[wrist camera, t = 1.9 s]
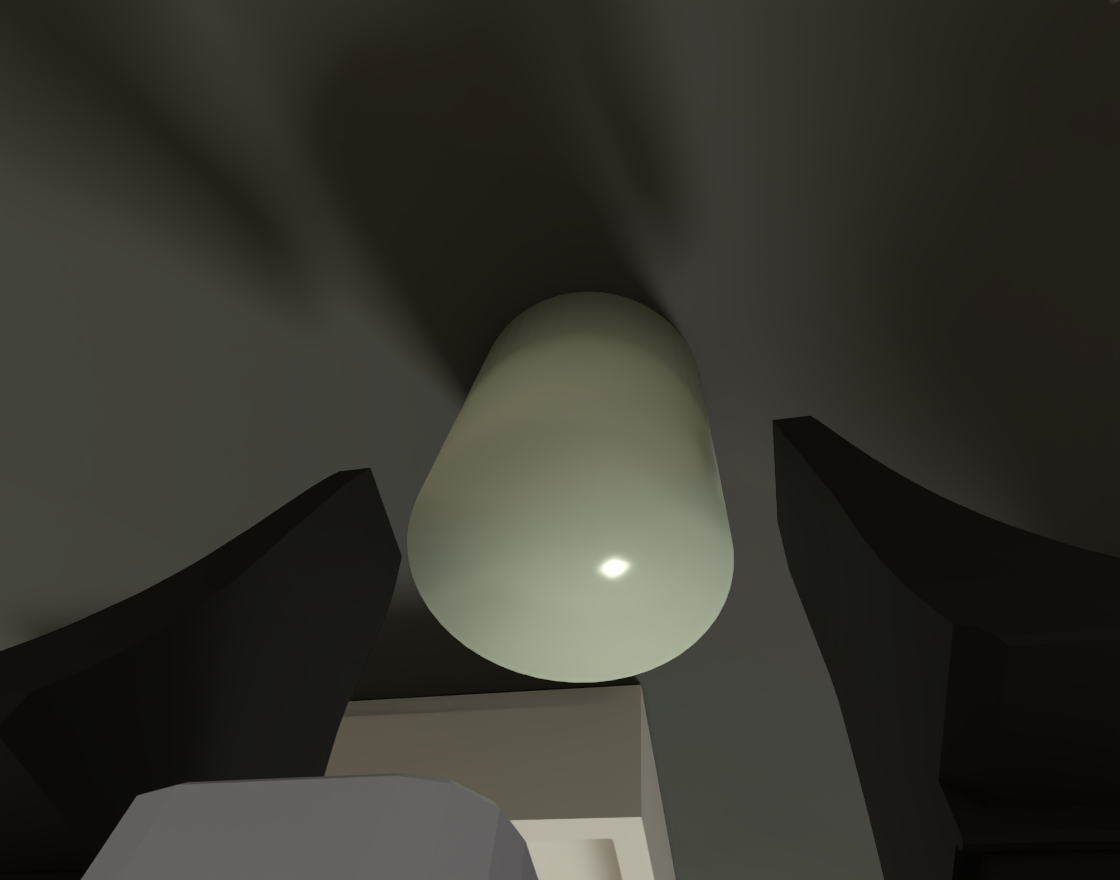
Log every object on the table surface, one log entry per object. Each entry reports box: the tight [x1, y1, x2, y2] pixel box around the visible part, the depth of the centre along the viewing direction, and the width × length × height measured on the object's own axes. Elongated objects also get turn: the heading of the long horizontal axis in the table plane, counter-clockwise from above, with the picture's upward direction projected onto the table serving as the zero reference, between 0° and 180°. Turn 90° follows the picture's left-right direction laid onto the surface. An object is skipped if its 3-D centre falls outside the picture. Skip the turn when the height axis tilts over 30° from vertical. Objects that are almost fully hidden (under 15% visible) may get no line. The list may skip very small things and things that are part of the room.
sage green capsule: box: [407, 292, 734, 683], centre depth 14 cm, size 5×5×6 cm
